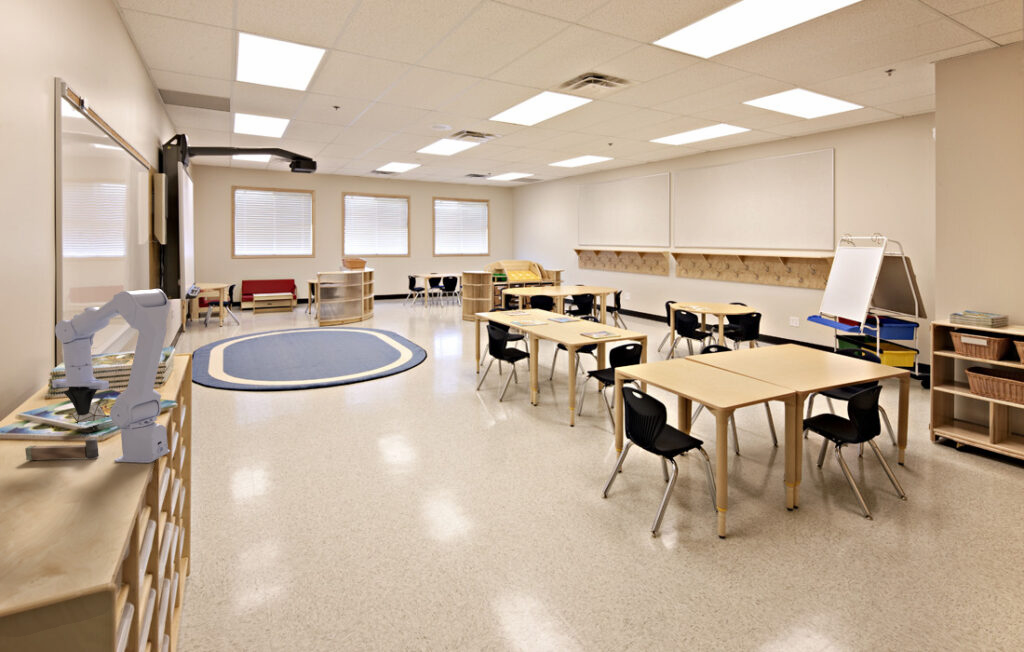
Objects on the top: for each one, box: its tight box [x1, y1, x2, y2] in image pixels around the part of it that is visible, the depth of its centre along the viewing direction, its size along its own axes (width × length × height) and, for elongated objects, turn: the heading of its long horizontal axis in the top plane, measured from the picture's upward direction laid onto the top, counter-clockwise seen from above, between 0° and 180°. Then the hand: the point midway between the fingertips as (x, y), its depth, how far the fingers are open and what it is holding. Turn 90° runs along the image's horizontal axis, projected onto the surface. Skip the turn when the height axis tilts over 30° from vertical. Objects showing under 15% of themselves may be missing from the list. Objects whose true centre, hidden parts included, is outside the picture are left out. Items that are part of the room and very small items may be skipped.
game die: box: [68, 401, 111, 424], centre depth 161 cm, size 9×8×10 cm
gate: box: [24, 437, 99, 461], centre depth 138 cm, size 16×2×5 cm, turn 97°
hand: (83, 414), depth 145 cm, fingers closed
